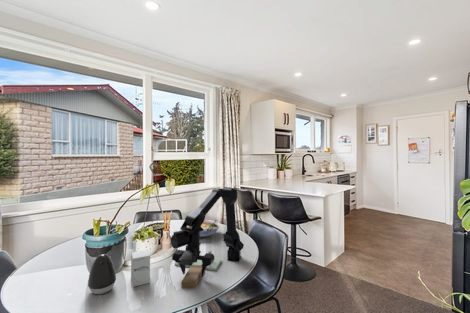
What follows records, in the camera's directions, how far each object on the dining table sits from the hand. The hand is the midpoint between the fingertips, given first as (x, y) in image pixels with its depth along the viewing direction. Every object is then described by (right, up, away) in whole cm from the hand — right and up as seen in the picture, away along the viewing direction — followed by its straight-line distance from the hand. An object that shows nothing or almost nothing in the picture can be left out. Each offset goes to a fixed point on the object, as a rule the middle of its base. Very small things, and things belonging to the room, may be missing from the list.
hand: (193, 275), depth 108 cm
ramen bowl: (-3, 0, +55) cm, 55 cm away
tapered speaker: (-36, -2, -10) cm, 38 cm away
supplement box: (-23, -2, -3) cm, 24 cm away
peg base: (0, -1, +14) cm, 14 cm away
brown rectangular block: (0, -2, 0) cm, 2 cm away
